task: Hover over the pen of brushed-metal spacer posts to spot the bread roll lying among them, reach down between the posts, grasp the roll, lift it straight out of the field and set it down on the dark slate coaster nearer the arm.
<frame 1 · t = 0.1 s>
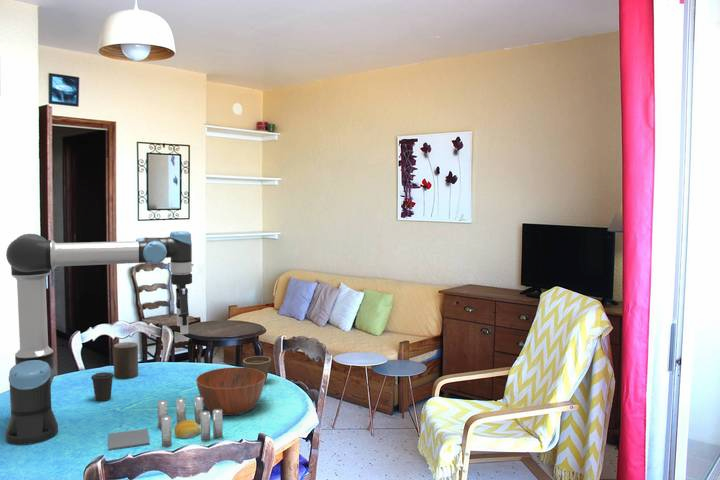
hand: (182, 329, 227), 28 cm above the table, fingers open, 13 cm apart
coffee cup: (103, 399, 233), on the table
bread roll: (186, 434, 202), on the table
pillar candle: (126, 376, 261), on the table
flower pot: (257, 383, 253), on the table
bowl: (231, 408, 226), on the table
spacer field: (183, 433, 202), on the table
slate coaster: (128, 439, 196), on the table
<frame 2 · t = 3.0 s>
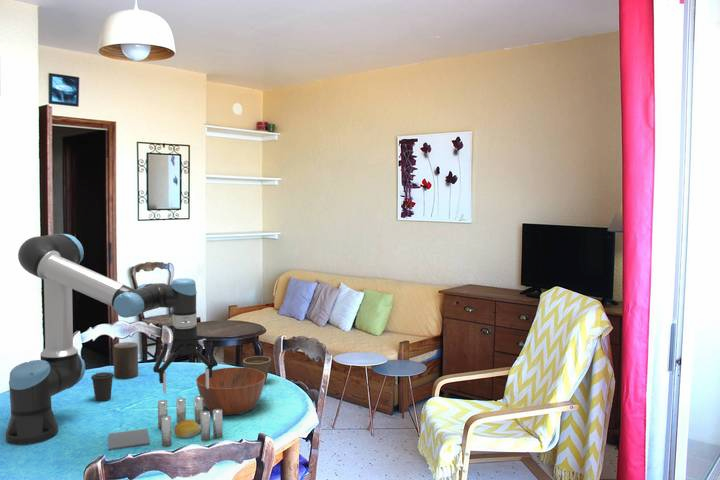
hand: (186, 389, 201), 15 cm above the table, fingers open, 13 cm apart
nothing on the table moved.
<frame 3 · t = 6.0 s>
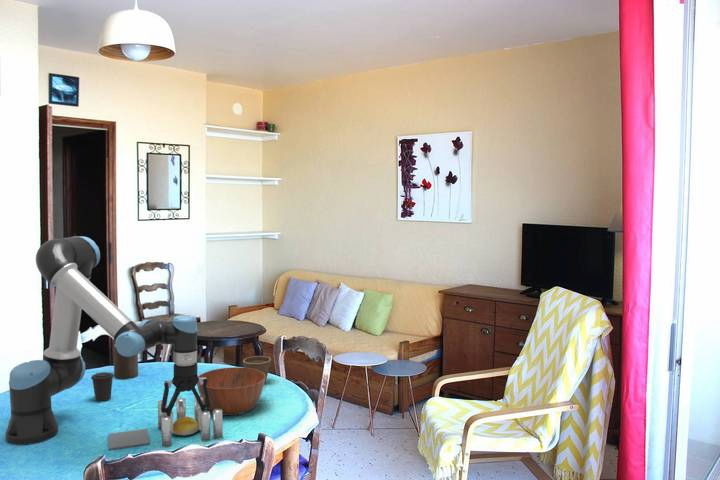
hand: (185, 429, 202), 1 cm above the table, fingers closed on bread roll, 8 cm apart
bread roll: (185, 431, 203), on the table, touching gripper
everything else where it was.
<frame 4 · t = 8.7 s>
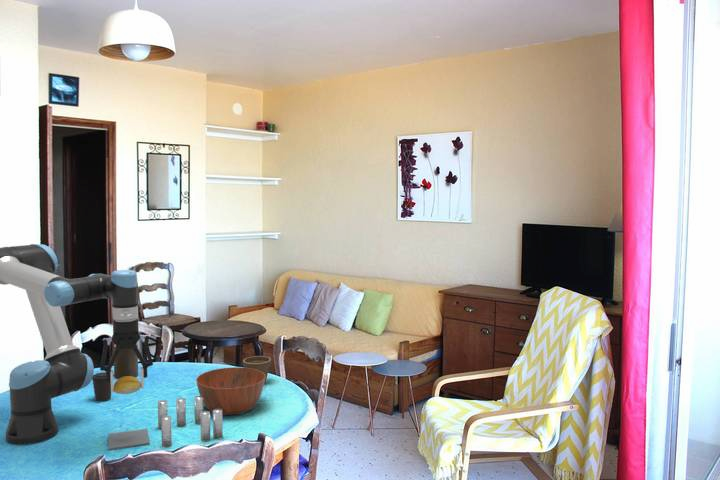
hand: (127, 389, 195), 17 cm above the table, fingers closed on bread roll, 8 cm apart
bread roll: (127, 390, 195), point 16 cm above the table, touching gripper
everything else where it was.
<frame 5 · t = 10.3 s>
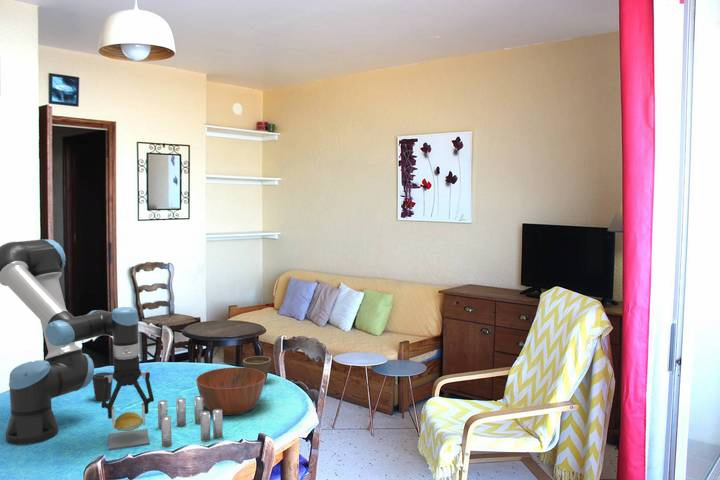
hand: (128, 425, 196), 5 cm above the table, fingers closed on bread roll, 8 cm apart
bread roll: (128, 426, 196), point 4 cm above the table, touching gripper
everything else where it was.
when the fingers open (2 cm above the table, at t = 11.7 s): bread roll stays where it is, resting on slate coaster.
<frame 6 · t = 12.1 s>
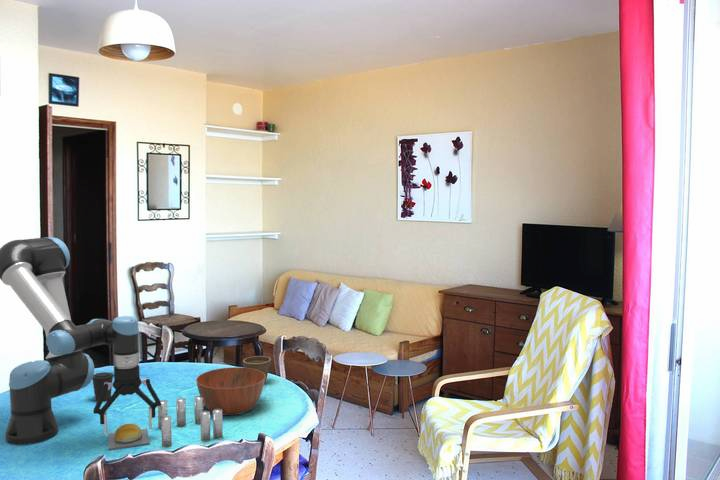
hand: (128, 430, 196), 3 cm above the table, fingers open, 13 cm apart
bread roll: (128, 438, 197), resting on slate coaster
everything else where it was.
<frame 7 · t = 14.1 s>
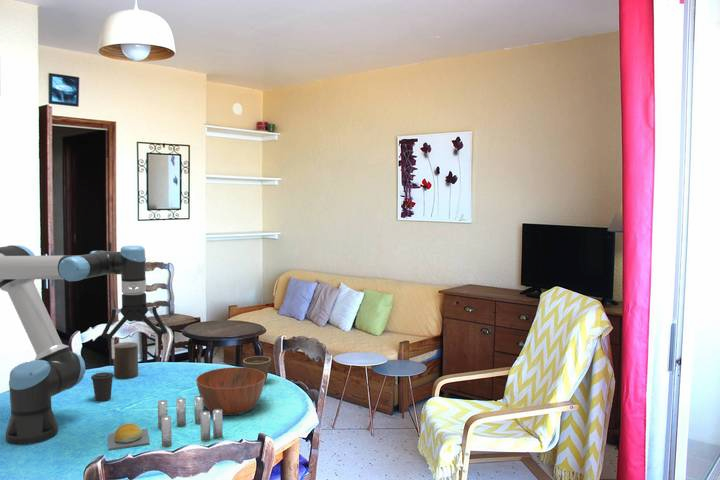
hand: (135, 356, 203), 25 cm above the table, fingers open, 13 cm apart
nothing on the table moved.
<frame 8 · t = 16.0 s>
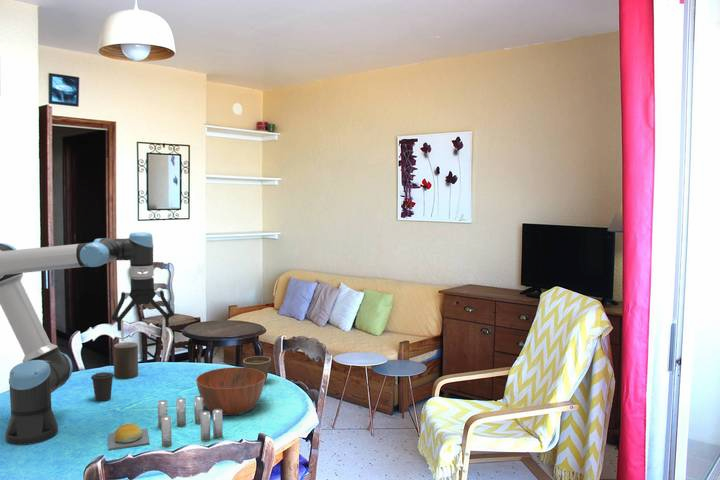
hand: (143, 338, 212), 29 cm above the table, fingers open, 13 cm apart
nothing on the table moved.
at the end: bread roll inside the target area on the slate coaster (0.4 cm from its centre), point 0.4 cm above the slate coaster's base; bread roll moved 18.2 cm from its start; the gripper is holding nothing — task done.
